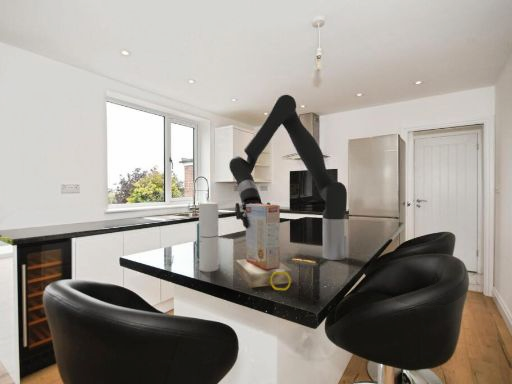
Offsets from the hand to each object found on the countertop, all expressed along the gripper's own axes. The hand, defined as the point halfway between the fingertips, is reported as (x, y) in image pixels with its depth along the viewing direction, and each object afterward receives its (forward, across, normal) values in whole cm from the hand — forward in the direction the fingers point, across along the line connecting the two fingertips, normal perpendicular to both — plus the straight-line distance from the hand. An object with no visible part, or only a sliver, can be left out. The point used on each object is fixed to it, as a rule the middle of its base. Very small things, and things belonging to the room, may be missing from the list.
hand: (258, 226), depth 96 cm
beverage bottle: (-5, -16, +29) cm, 33 cm away
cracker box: (+11, 0, +7) cm, 13 cm away
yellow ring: (+24, +1, 0) cm, 24 cm away
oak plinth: (+14, 0, +10) cm, 17 cm away
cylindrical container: (+4, -16, +20) cm, 26 cm away
